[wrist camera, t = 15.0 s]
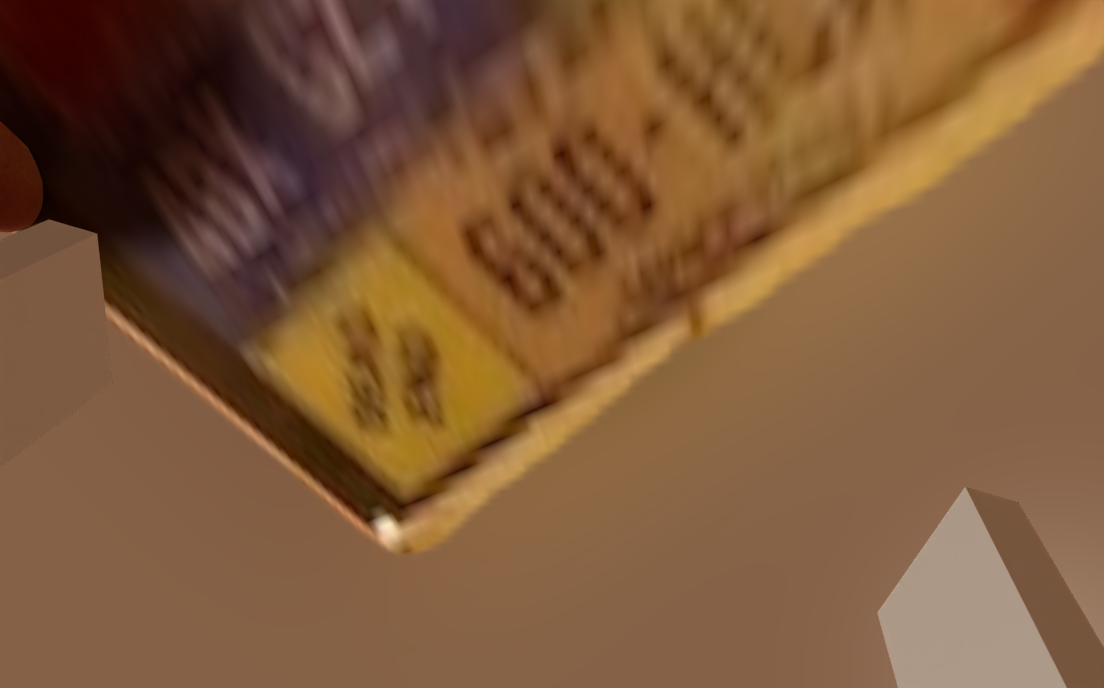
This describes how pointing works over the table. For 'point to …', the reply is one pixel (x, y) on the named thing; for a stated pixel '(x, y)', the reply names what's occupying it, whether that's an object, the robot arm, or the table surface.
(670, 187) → the table surface
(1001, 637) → the robot arm
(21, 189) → the goblet
